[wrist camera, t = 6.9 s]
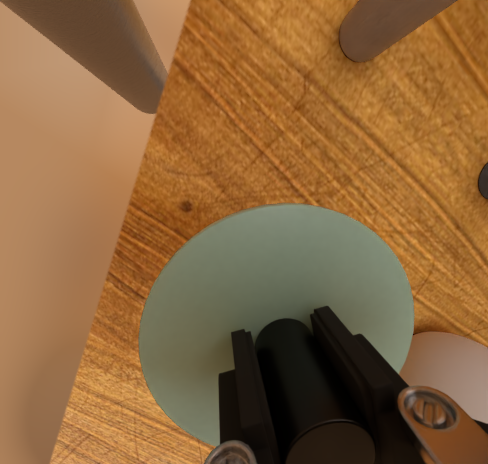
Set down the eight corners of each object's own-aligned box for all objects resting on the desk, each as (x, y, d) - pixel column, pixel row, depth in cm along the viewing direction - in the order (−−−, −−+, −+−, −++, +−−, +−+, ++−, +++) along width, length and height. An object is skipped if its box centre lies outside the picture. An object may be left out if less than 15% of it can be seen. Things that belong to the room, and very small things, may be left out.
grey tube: (338, 8, 24) (425, -104, 14) (385, 6, 25) (502, -105, 15) (338, 64, 25) (420, -4, 15) (383, 61, 26) (492, -7, 16)
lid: (92, 365, 11) (-18, 544, 6) (253, 140, 10) (300, 105, 5) (295, 463, 14) (347, 652, 8) (445, 295, 13) (621, 390, 7)
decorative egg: (421, 411, 37) (557, 570, 22) (355, 377, 34) (461, 531, 20) (480, 342, 35) (667, 465, 21) (415, 300, 32) (579, 407, 18)
